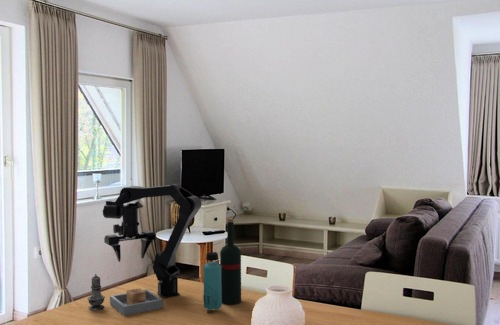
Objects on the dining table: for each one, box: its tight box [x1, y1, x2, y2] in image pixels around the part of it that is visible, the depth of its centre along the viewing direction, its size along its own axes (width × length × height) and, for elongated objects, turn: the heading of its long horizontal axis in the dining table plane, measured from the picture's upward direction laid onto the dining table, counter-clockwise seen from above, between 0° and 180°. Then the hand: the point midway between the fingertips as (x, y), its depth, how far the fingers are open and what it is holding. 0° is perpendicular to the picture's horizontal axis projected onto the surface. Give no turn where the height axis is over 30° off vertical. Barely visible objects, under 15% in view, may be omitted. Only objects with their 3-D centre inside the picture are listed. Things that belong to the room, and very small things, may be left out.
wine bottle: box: [219, 217, 242, 306], centre depth 190 cm, size 8×10×30 cm
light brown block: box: [126, 288, 146, 305], centre depth 185 cm, size 5×5×5 cm
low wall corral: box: [109, 289, 164, 317], centre depth 185 cm, size 14×14×3 cm
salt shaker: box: [87, 273, 106, 311], centre depth 183 cm, size 6×6×12 cm
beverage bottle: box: [202, 251, 223, 310], centre depth 179 cm, size 6×7×20 cm
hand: (131, 259), depth 202 cm, fingers open, 9 cm apart
